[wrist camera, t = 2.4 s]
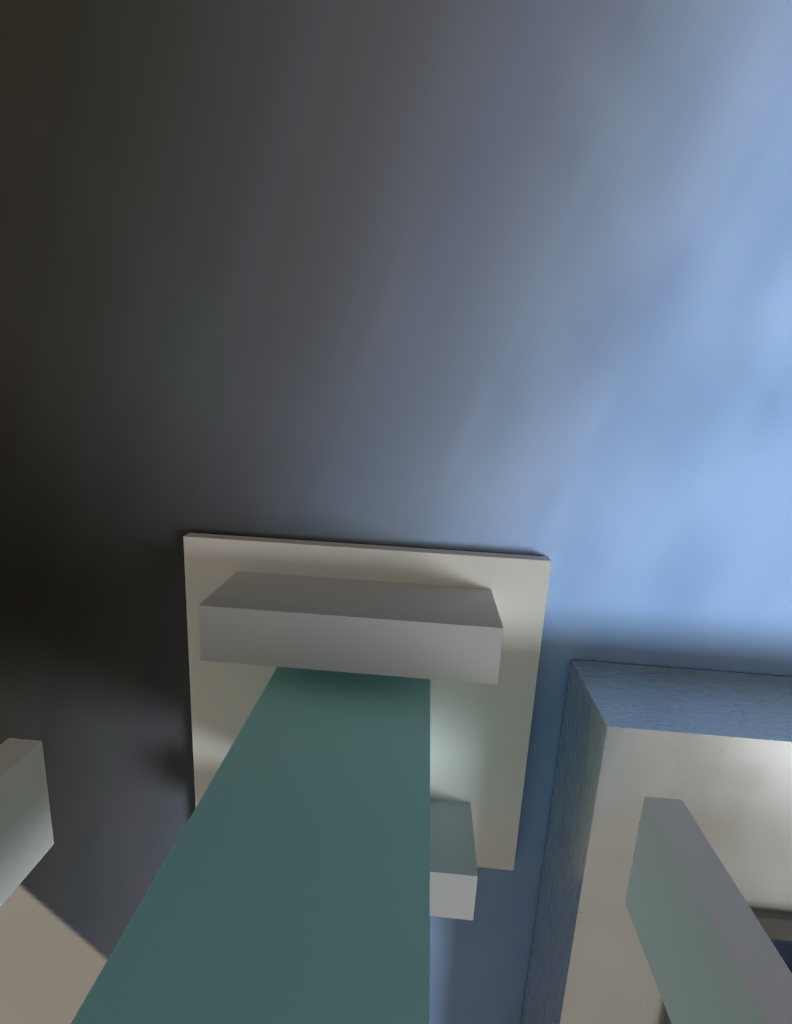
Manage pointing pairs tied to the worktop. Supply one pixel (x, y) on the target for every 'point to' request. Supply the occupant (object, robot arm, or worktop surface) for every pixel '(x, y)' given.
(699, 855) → the robot arm
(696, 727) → the port panel
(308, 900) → the plug
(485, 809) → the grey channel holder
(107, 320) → the worktop surface
